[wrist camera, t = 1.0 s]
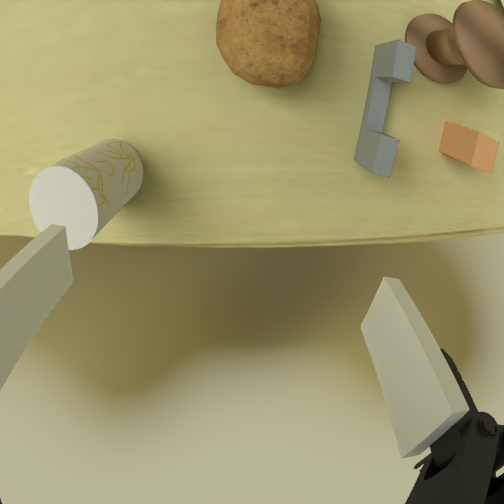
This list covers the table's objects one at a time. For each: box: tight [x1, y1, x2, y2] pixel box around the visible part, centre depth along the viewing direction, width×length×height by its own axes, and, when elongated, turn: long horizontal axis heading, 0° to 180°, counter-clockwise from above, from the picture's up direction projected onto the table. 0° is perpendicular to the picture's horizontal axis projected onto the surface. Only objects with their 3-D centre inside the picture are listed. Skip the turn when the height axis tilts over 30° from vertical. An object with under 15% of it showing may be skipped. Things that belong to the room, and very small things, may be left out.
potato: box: [216, 0, 321, 88], centre depth 22 cm, size 10×14×8 cm
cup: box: [29, 139, 143, 250], centre depth 28 cm, size 8×8×12 cm
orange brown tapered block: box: [439, 122, 499, 175], centre depth 27 cm, size 4×4×7 cm
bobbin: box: [405, 0, 504, 89], centre depth 20 cm, size 9×9×11 cm
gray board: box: [354, 40, 416, 178], centre depth 26 cm, size 14×2×6 cm, turn 172°
